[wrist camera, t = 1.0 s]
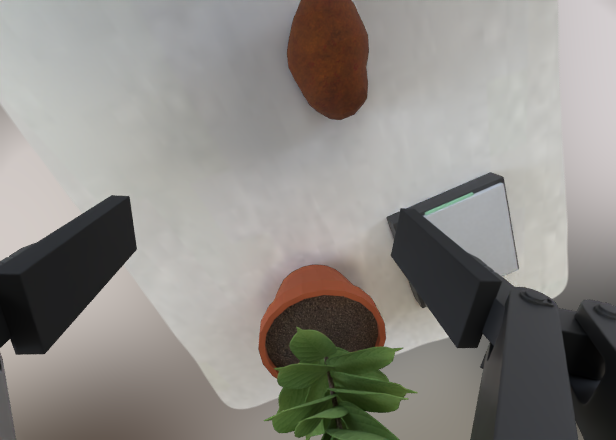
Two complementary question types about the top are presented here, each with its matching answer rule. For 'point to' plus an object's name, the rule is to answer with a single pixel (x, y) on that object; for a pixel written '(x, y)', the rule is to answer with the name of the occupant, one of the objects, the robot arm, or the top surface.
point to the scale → (473, 222)
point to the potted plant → (328, 358)
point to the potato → (329, 56)
